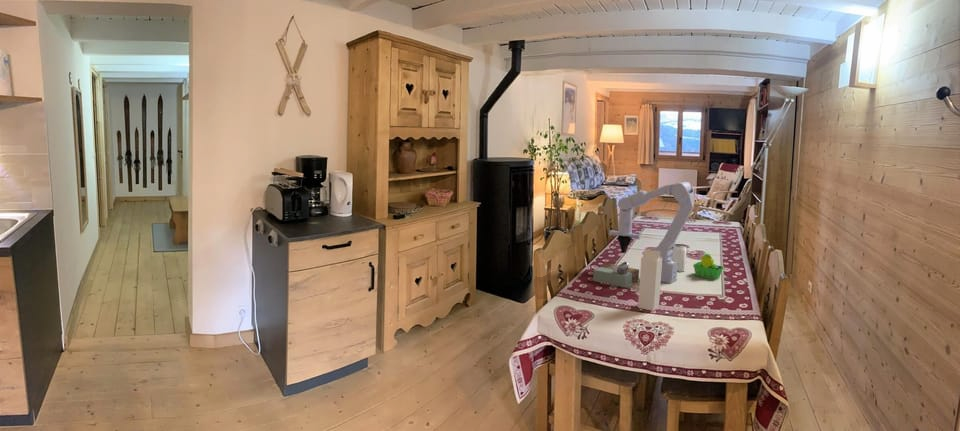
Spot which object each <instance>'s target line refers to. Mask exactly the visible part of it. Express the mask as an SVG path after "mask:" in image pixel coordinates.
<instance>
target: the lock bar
mask: <svg viewBox="0 0 960 431" xmlns="http://www.w3.org/2000/svg"><path fill="white" fill-rule="evenodd" d="M629 264H630V263H629V262H627V261H623V262H622V263H620V264H617V266H615V267H613V272H616V273H618V272H620V269H621V268H623V267H626V268H630V267H629V266H630V265H629Z"/></svg>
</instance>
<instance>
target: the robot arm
mask: <svg viewBox="0 0 960 431" xmlns="http://www.w3.org/2000/svg"><path fill="white" fill-rule="evenodd" d="M694 193H695V189H694V188H693V186H692V184H691V183H690V182H689V181H685V180H684V181H681V182H676V183H670V184H666V185H663V186H661V187H658V188H655V189H653V190H650V191H646V190H638V191H637V192H636V193H633V194H631V193H630V194H627V196H625V197H624V196H623V197H622V198H620V199H619V200H618V204H617V205H618V208H619V217H618V218H619V219H618V230H612V229H611V230H609V231H608V235H609V236H616V238H617V241H618V244H619V246H620V250H621V253H623V254H625V253H627V250H628V247H629V244H630V243H631V241H632V240H633V239H636V240H641V239H642V234H641V233H636V232H632V230H633V215H634V214H633V213H634V208H637V207H640V206H643V205H646V204H648V203H649V202H650V200H651V199H654V198H657V197H660V196H664V195H667V196H672V197H673V198H674V199H675V200H676V201H677V203H678V205H679V208H678V210H677V212H676V214H675V216H674V218H673V220H672V222H671V224H670V226H669V227H668V229H667V231H666V233H665V235H664V237H663V239H662V240H661V241H660V242H659V244H658V245H657V246H656V247H655V248H653V251H659V252H660V256H661V257H662V271H661V283H666V284H672V283H673V282H675V281H676V280H678V279H677V278H678V277H677V276H678V275H677V274H678V272H677V263H676V262H673V261H672V259H671V256H672V255H673V253H674V246H675V244H676V241H677V240H678V238H679V236H680V234H681V232H682V231H683V228H684V227H685V225H686V223H687V221H688V219H689V217H690V215H691V213H692V211H693V209H694V207H695V200H694Z"/></svg>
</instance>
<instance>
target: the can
mask: <svg viewBox="0 0 960 431" xmlns="http://www.w3.org/2000/svg"><path fill="white" fill-rule="evenodd" d="M671 259H672V261H673V262H676V263H677V273H681V272H685V271H686V262H687V261H686V260H687V245H686V244H684V243H683V244H682V243H675V246H674V253H673V255H672V256H671Z"/></svg>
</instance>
